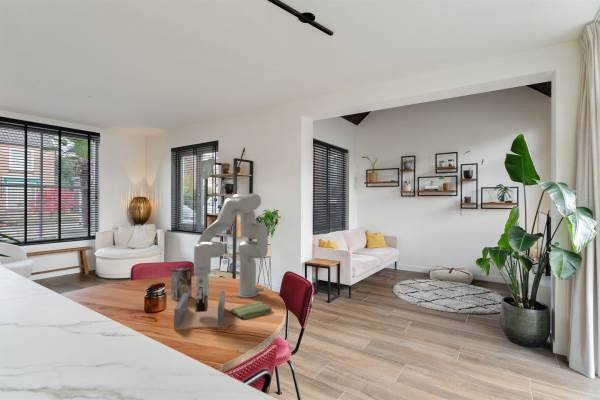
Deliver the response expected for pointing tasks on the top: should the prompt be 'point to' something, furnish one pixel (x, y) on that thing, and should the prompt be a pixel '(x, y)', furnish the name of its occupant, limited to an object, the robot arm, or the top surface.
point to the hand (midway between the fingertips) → (201, 308)
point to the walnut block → (204, 301)
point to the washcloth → (251, 310)
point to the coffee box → (180, 283)
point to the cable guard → (198, 315)
